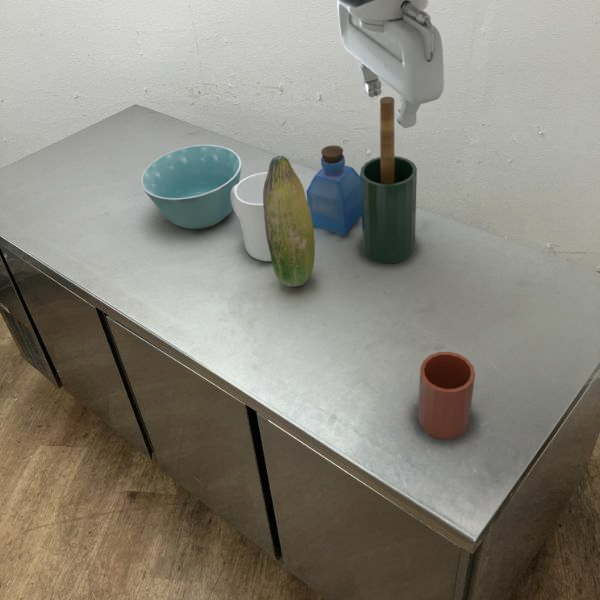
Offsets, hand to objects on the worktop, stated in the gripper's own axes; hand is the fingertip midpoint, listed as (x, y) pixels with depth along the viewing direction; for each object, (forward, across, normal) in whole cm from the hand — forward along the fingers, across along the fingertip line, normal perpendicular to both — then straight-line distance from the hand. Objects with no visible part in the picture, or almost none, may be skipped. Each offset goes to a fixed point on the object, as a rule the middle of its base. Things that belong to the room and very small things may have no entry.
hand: (388, 108), depth 80 cm
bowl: (+22, +22, +23) cm, 39 cm away
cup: (+22, 0, 0) cm, 22 cm away
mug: (+22, +10, +16) cm, 29 cm away
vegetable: (+22, -2, +15) cm, 27 cm away
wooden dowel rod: (+21, 0, 0) cm, 21 cm away
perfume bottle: (+22, +10, +4) cm, 24 cm away
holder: (+22, -30, +8) cm, 38 cm away
